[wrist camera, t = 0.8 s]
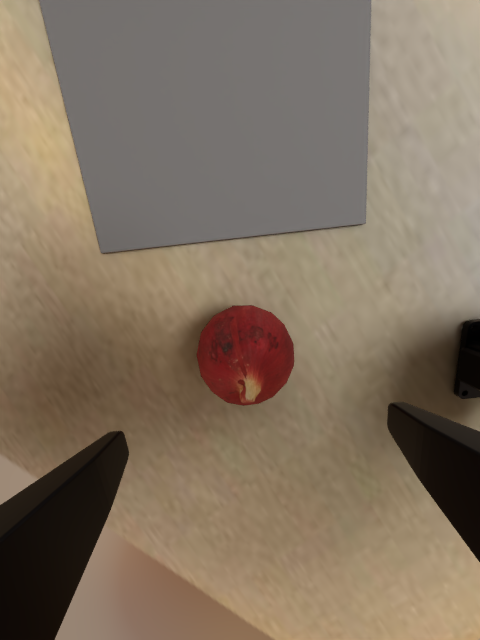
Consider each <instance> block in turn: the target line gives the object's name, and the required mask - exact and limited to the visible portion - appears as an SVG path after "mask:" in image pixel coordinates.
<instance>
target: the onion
mask: <svg viewBox="0 0 480 640" xmlns="http://www.w3.org/2000/svg"><path fill="white" fill-rule="evenodd" d="M197 359H198V364H199V369H200V373H201V377H202V378H203V380H204V381H205V383H206V384H207V385H208V387H209V388H210V390H211V391H212V392H213V393H214V394H216V395H217V396H219V397H220V398H222V399H223V400H224V401H226V402H227V403H233V404H238V405H243V406H244V405H251V404H259V403H261V402H263V401H265V400H267V399H269V398H272V397H273V396H274V395H275V394H276V393H277V392H278V391H279V390H280V389H281V388H282V387H283V386H284V385H285V384H286V383H287V381H288V378H289V376H290V373H291V371H292V369H293V366H294V348H293V342H292V340H291V338H290V336H289V334H288V331H287V329H286V327H285V325H284V324H283V323H282V322H281V321H280V320H279V319H278V318H277V317H276V316H275V315H273V314H272V313H271V312H268V311H265V310H263V309H260V308H258V307H255V306H252V305H248V306H232V307H230V308H228V309H226V310H224V311H222V312H220V313H218V314H216V315H215V316H213V318H212V319H211V320H210V321H209V323H208V324H207V325H206V327H205V328H204V329H203V331H202V332H201V336H200V340H199V345H198V351H197Z"/></svg>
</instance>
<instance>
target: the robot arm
mask: <svg viewBox="0 0 480 640" xmlns="http://www.w3.org/2000/svg"><path fill="white" fill-rule="evenodd" d="M472 326H473V327H472ZM471 327H472V328H471ZM454 394H455V395H456V396H458V397H460V398H462V399H467V398H476V397H480V319H479V320H470V321H467V322H466V323H465V324H464V325H463V329H462V336H461V344H460V351H459V359H458V366H457V374H456V381H455V388H454ZM387 426H388V429H389V432H390V433H391V435H392V437H393V438H394V440H395V442H396V443H397V445H398V446H399V448H400V450H401V451H402V453H403V455H404V456H405V458H406V459H407V461H408V463H409V464H410V466H411V468H412V469H413V471H414V472H415V474H416V476H417V477H418V479H419V480H420V481H421V483H422V484H423V486H424V487H425V488H426V490H427V491H428V493H429V494H430V495H431V497H432V498H433V499H434V501H435V502H436V503H437V505H438V506H439V508H440V509H441V510H442V512H443V513H444V514H445V516H446V517H447V518H448V520H449V521H450V522H451V524H452V525H453V527H454V528H455V529H456V531H457V532H458V533H459V535H460V536H461V537H462V539H463V540H464V542H465V543H466V544H467V546H468V547H469V548H470V550H471V551H472V552H473V554H474V555H475V556H476V558H477V559H478V561H479V562H480V432H479V431H477V430H474V429H472V428H469V427H466V426H464V425H461V424H459V423H456V422H454V421H451V420H449V419H446V418H443V417H441V416H438V415H436V414H433V413H431V412H428V411H425V410H423V409H420V408H418V407H415V406H413V405H410V404H408V403H405V402H393V403H390V404H389V406H388V419H387ZM128 456H129V450H128V446H127V442H126V439H125V435H124V433H123V432H122V431H113V432H109V433H107V434H106V435H104V436H103V437H101V438H100V439H98V440H97V441H95V442H94V443H92V444H91V445H89V446H88V447H86V448H85V449H83V450H82V451H80V452H79V453H77V454H76V455H74V456H73V457H71V458H70V459H68V460H67V461H65V462H64V463H62V464H61V465H59V466H58V467H57V468H55V469H54V470H52V471H51V472H49V473H48V474H46V475H45V476H43V477H42V478H40V479H39V480H37V481H36V482H35V483H33V484H31V485H30V486H28V487H27V488H25V489H24V490H22V491H21V492H19V493H18V494H16V495H15V496H13V497H12V498H11V499H9V500H7V501H6V502H4V503H3V504H1V505H0V640H55V637H56V635H57V632H58V630H59V628H60V626H61V624H62V621H63V619H64V616H65V614H66V612H67V609H68V607H69V605H70V603H71V600H72V598H73V596H74V594H75V591H76V589H77V586H78V584H79V582H80V580H81V577H82V575H83V573H84V570H85V568H86V566H87V563H88V561H89V559H90V556H91V554H92V552H93V550H94V547H95V545H96V543H97V540H98V538H99V536H100V534H101V531H102V529H103V527H104V524H105V522H106V520H107V517H108V515H109V512H110V510H111V507H112V505H113V502H114V499H115V496H116V493H117V490H118V487H119V484H120V481H121V478H122V475H123V472H124V469H125V466H126V463H127V460H128Z"/></svg>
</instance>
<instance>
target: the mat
mask: <svg viewBox="0 0 480 640" xmlns="http://www.w3.org/2000/svg"><path fill="white" fill-rule="evenodd" d="M39 2H40V6H41V10H42V14H43V18H44V22H45V26H46V30H47V34H48V38H49V43H50V47H51V51H52V55H53V59H54V63H55V67H56V71H57V75H58V79H59V83H60V87H61V91H62V95H63V100H64V104H65V108H66V112H67V116H68V120H69V124H70V128H71V132H72V136H73V140H74V144H75V148H76V153H77V157H78V161H79V165H80V169H81V173H82V177H83V181H84V185H85V189H86V193H87V197H88V201H89V205H90V210H91V214H92V218H93V222H94V226H95V230H96V234H97V238H98V242H99V246H100V250H101V253H111V252H120V251H129V250H138V249H147V248H156V247H165V246H174V245H182V244H191V243H200V242H209V241H218V240H227V239H236V238H245V237H254V236H263V235H272V234H281V233H290V232H299V231H307V230H316V229H325V228H334V227H343V226H352V225H361V224H365V223H366V195H367V154H368V113H369V72H370V31H371V0H39Z"/></svg>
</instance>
